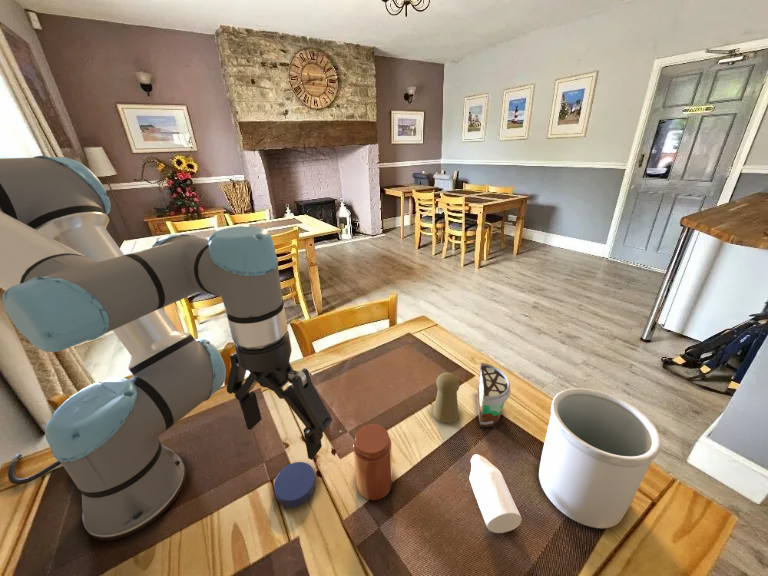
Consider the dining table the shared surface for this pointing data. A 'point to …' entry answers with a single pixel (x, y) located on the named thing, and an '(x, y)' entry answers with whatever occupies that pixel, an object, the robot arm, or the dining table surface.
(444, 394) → the olive brown pawn
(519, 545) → the dining table surface
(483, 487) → the white dropper bottle
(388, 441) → the jar
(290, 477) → the lid
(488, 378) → the food container
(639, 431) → the utensil holder
